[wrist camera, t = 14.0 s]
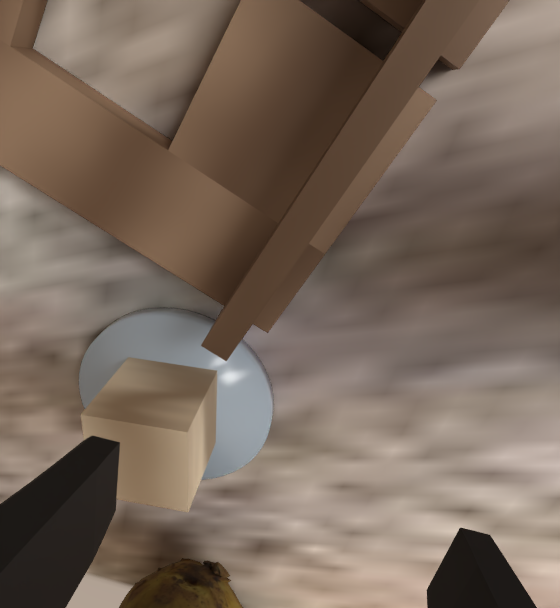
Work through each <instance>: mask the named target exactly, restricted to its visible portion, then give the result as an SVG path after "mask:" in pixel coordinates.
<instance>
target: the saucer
mask: <svg viewBox="0 0 560 608" xmlns="http://www.w3.org/2000/svg"><path fill="white" fill-rule="evenodd" d="M214 323H215V320H213V319H211V318H208V317H206V316H203V315H201V314H198V313H195V312H191V311H187V310H182V309H176V308H149V309H144V310H139V311H135V312H132V313H130V314H127V315H125V316H123V317H121V318H119V319H118V320H116V321H114V322H113V323H112V324H110V325H109V326H108V327H107V328H106V329H105V330H104V331H103V332H102V333H101V334H100V335H99V336H98V337H97V338H96V339H95V340H94V341H93V342H92V343H91V345H90V346H89V348H88V349H87V351H86V353H85V355H84V357H83V360H82V362H81V367H80V371H79V390H80V396H81V400H82V404H83V406H84V409H86V407H87V406H88V405H89V404H90V403H91V401H92V400H93V399H94V398H95V397H96V395H97V394H98V393H99V392H100V391H101V389H102V388H103V387H104V386H105V385H106V383H107V382H108V381H109V380H110V379H111V377H112V376H113V375H114V374H115V373H116V371H117V370H118V369H119V368H120V367H121V365H122V364H123V363H124V362H125V361H126V359H127V358H128V357H131V358H137V359H144V360H150V361H157V362H164V363H170V364H177V365H184V366H190V367H197V368H204V369H210V370H217V412H216V443H215V446H214V448H213V451H212V453H211V456H210V459H209V461H208V464H207V466H206V469H205V471H204V474H203V476H202V479H201V480H204V479H212V478H217V477H221V476H224V475H227V474H230V473H232V472H234V471H236V470H238V469H240V468H242V467H243V466H244V465H246V464H247V463H249V462H250V461H251V460H252V459H253V458H254V457H255V456H256V455H257V454H258V452H259V451H260V449H261V448H262V447H263V445H264V443H265V441H266V439H267V436H268V432H269V429H270V425H271V421H272V417H273V410H274V395H273V390H272V385H271V382H270V379H269V376H268V374H267V372H266V370H265V368H264V366H263V364H262V362H261V361H260V359H259V358H258V356H257V355H256V354H255V352H254V351H253V350H252V349H251V348H250V347H249V345H248V344H247V343H246V342H245V341H244V340H241V341H240V343H239V344H238V346H237V347H236V348H235V350H234V351H233V353H232V354H231V356H230V357H229V358H228V360H227V361H225V360H223V359H222V358H220V357H218V356H217V355H215V354H213V353H212V352H210V351H208V350H207V349H205V348H204V347H202V346H201V344H202V343H203V341H204V339H205V338H206V336H207V334H208V333H209V331H210V329H211V328H212V326H213V324H214Z"/></svg>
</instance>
